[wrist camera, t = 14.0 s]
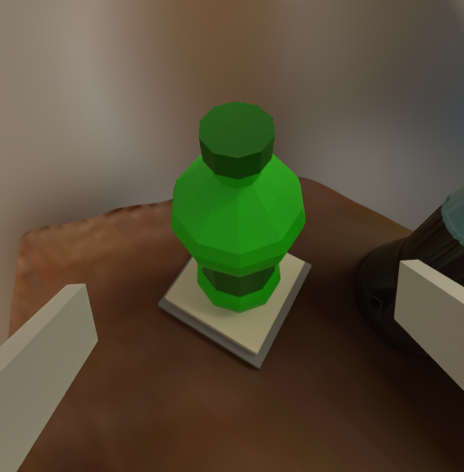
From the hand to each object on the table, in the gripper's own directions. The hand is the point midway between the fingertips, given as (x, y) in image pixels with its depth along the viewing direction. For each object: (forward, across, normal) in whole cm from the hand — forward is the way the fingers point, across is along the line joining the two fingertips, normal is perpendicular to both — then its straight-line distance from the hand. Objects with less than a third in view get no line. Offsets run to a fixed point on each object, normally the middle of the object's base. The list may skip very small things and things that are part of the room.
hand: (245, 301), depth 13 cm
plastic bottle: (+24, 0, -11) cm, 27 cm away
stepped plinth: (+27, 0, -13) cm, 30 cm away
